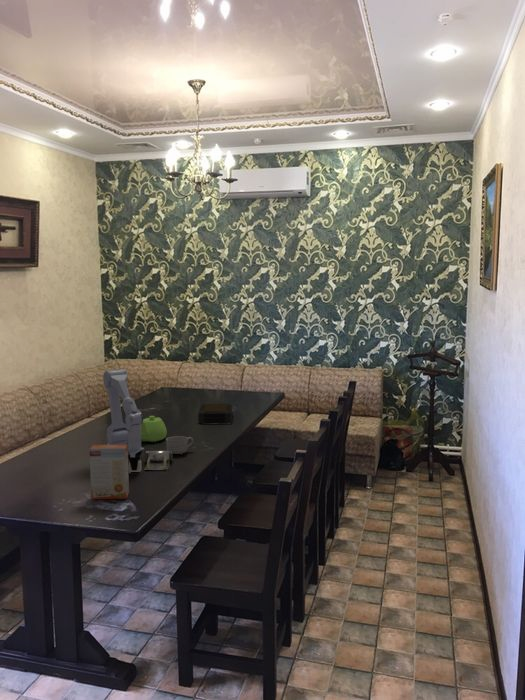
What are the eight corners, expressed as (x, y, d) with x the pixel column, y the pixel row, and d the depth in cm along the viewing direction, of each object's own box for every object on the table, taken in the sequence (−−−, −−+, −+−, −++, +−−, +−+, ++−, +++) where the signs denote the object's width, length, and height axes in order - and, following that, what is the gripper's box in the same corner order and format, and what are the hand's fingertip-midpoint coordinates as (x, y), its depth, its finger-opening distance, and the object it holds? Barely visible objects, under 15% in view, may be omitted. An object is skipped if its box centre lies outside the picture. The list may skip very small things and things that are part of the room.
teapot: (154, 447, 301) (153, 422, 300) (128, 444, 306) (127, 420, 304) (172, 436, 322) (172, 413, 320) (148, 434, 326) (148, 411, 325)
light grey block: (128, 473, 262) (128, 460, 261) (130, 469, 267) (130, 457, 266) (140, 472, 262) (139, 460, 261) (141, 469, 267) (141, 457, 266)
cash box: (232, 424, 349) (232, 412, 348) (198, 424, 348) (198, 412, 347) (233, 415, 374) (233, 403, 373) (201, 415, 373) (201, 403, 372)
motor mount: (142, 470, 264) (142, 458, 264) (146, 460, 279) (146, 449, 279) (170, 470, 265) (170, 458, 265) (172, 460, 280) (172, 448, 280)
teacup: (167, 457, 284) (167, 441, 283) (164, 451, 295) (164, 435, 294) (195, 455, 288) (195, 439, 287) (192, 449, 298) (192, 434, 297)
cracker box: (129, 494, 236) (128, 443, 234) (126, 499, 230) (125, 448, 228) (94, 494, 236) (93, 444, 233) (90, 499, 230) (89, 448, 227)
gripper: (141, 443, 255) (142, 473, 257) (145, 434, 270) (146, 462, 272) (125, 443, 255) (125, 473, 257) (130, 434, 269) (130, 463, 271)
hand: (135, 468), depth 264 cm, fingers closed on light grey block, 5 cm apart
